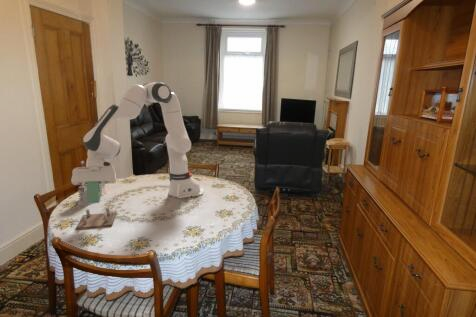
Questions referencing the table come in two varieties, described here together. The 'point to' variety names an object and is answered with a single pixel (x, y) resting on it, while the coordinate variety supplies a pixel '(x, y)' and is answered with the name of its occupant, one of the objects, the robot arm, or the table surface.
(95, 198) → the green rectangular block
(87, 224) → the standoff cradle
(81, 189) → the french press
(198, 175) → the table surface
